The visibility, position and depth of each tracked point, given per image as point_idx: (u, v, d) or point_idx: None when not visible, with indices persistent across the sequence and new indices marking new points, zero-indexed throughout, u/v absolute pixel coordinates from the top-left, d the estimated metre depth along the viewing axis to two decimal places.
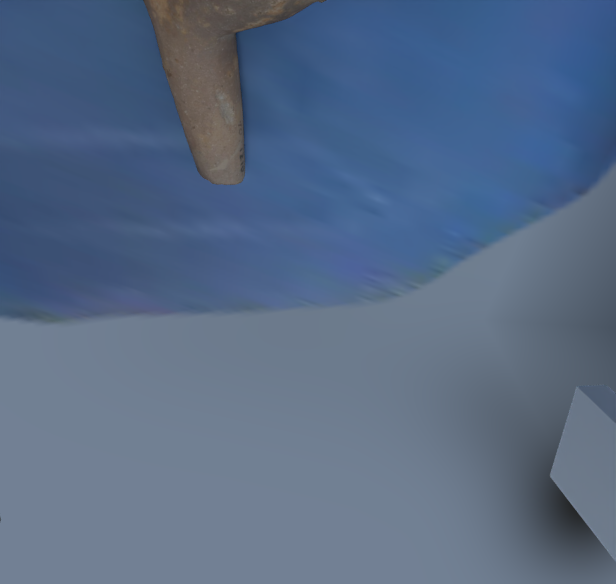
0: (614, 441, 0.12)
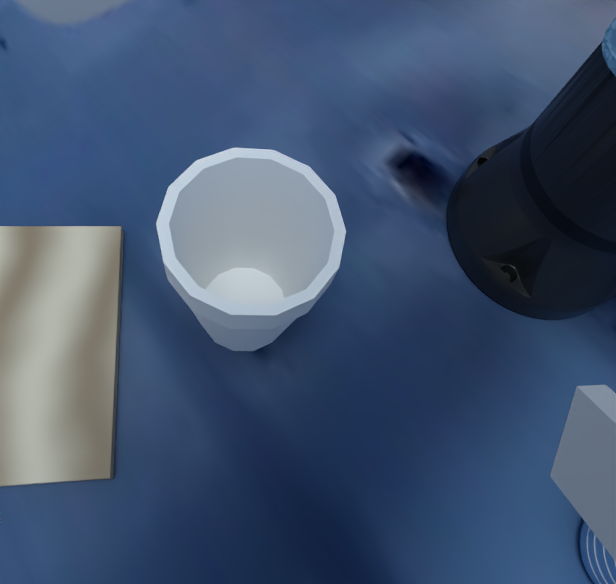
0: (614, 441, 0.12)
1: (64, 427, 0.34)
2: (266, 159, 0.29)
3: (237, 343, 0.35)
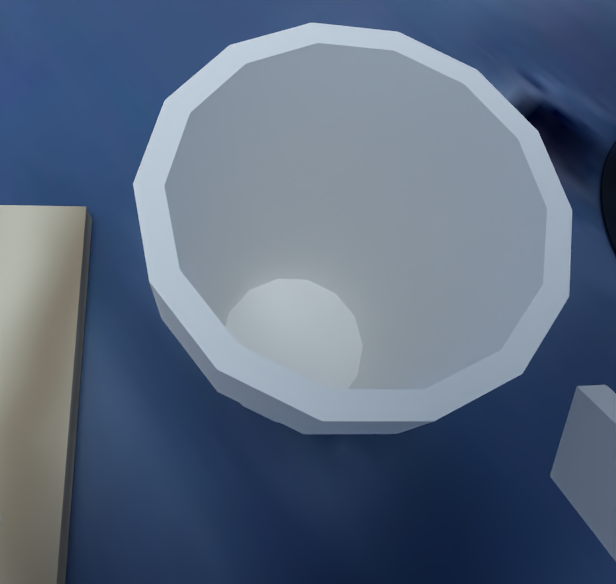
0: (614, 441, 0.12)
1: None
2: (383, 51, 0.13)
3: None
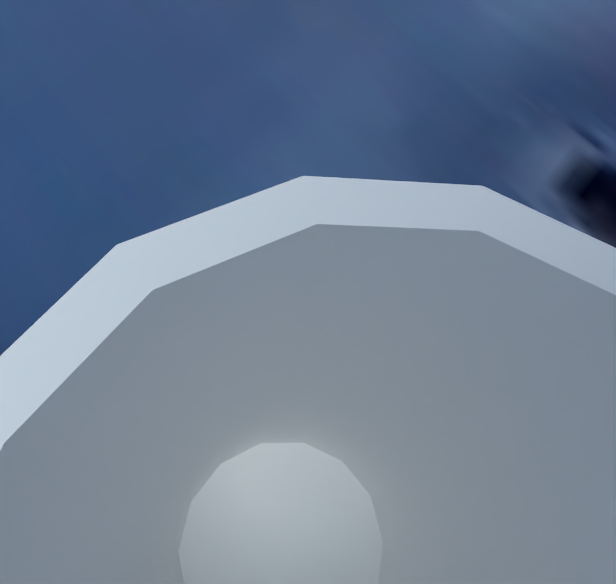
0: None
1: None
2: (453, 230, 0.06)
3: None
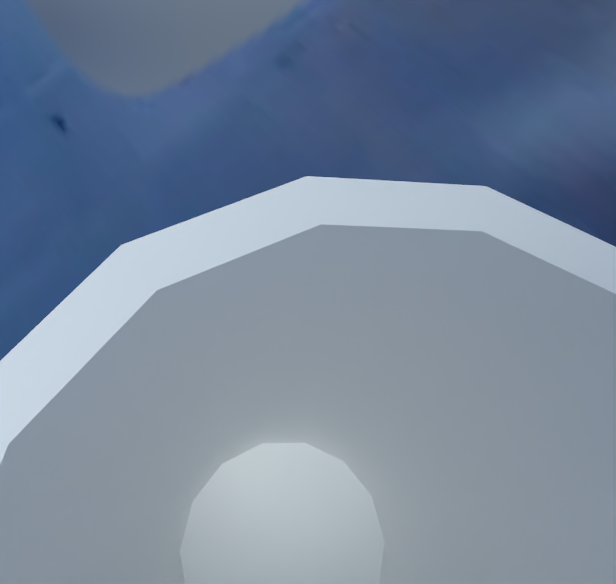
0: None
1: None
2: (457, 231, 0.06)
3: None
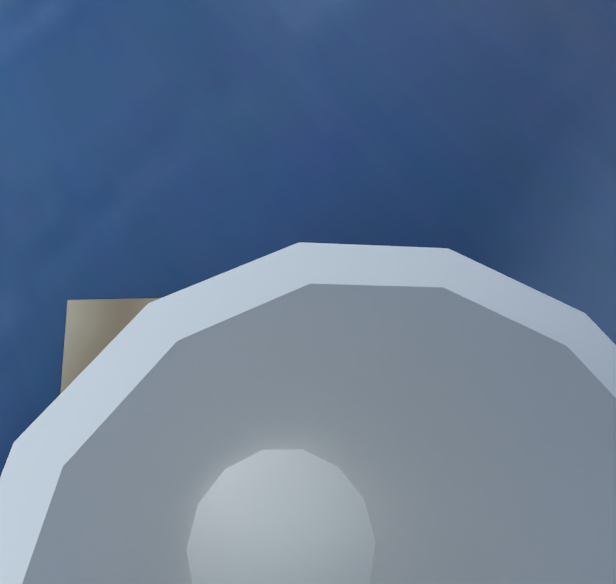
0: None
1: None
2: (423, 286, 0.08)
3: None
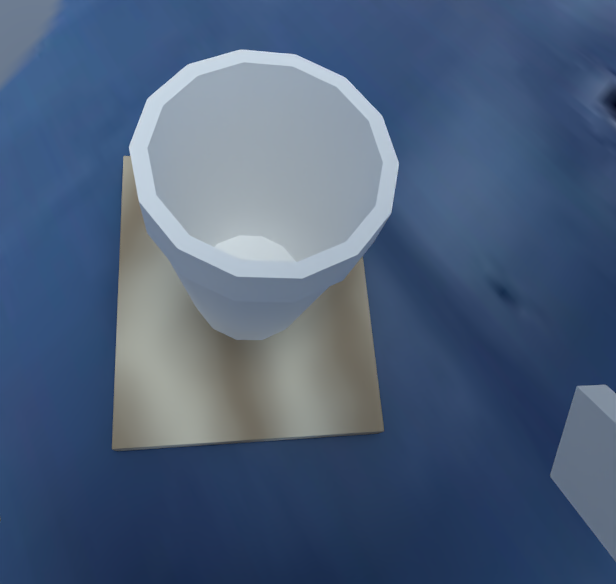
0: (614, 441, 0.12)
1: (327, 375, 0.30)
2: (285, 66, 0.21)
3: (242, 328, 0.27)
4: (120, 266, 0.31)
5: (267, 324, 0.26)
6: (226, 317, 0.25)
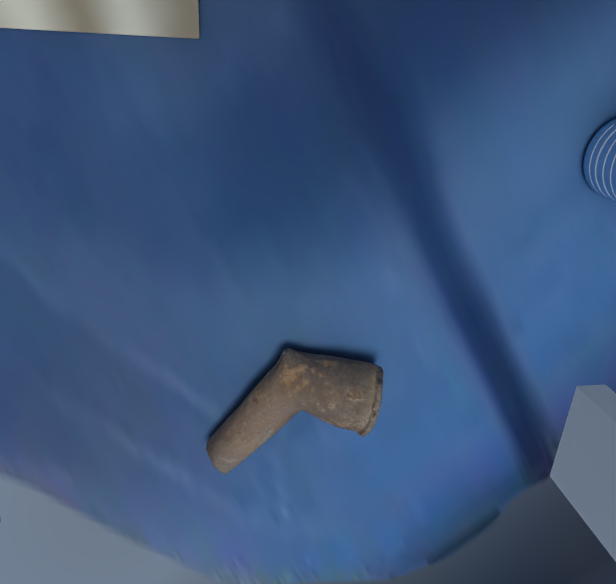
0: (614, 441, 0.12)
1: None
2: None
3: None
4: None
5: None
6: None
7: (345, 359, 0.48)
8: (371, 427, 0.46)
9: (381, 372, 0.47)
